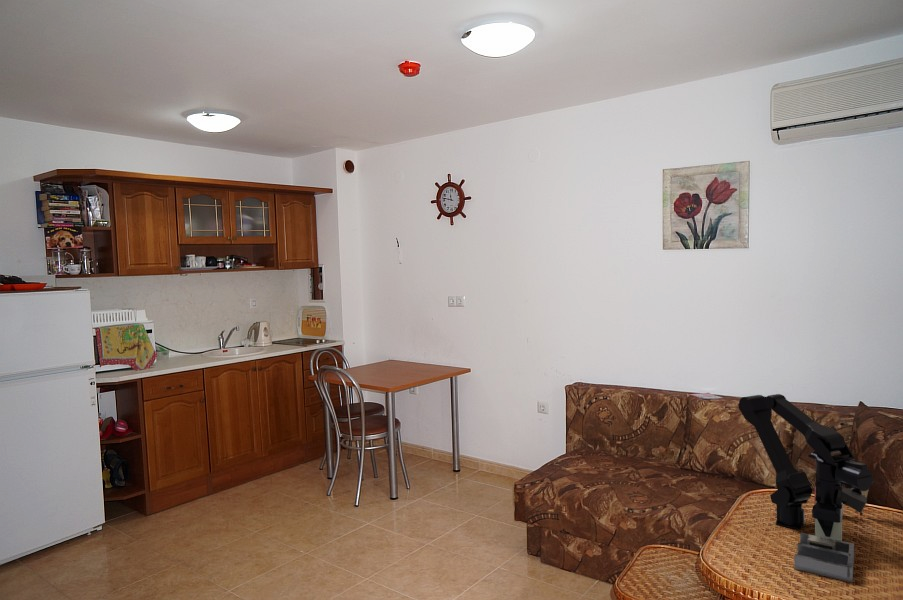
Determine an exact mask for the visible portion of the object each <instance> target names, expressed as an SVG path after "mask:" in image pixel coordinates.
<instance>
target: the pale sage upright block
mask: <svg viewBox="0 0 903 600" xmlns="http://www.w3.org/2000/svg"><path fill="white" fill-rule="evenodd" d="M814 535H815V536H820V537H825V538H830V539H834V540H839V541H843V517H842V518H841V520H840V523H836V522H834V524H833V528H832V532H831V536H830V537H826V536H825V534H824V532H823V530H822V528H821V526H820V524H819V522H818V520H817V519H815V518H814Z"/></svg>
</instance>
